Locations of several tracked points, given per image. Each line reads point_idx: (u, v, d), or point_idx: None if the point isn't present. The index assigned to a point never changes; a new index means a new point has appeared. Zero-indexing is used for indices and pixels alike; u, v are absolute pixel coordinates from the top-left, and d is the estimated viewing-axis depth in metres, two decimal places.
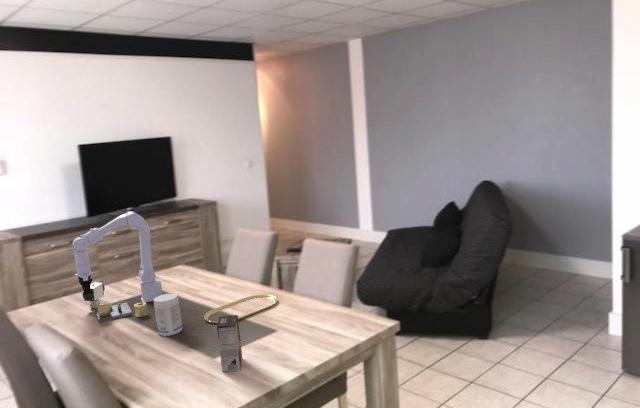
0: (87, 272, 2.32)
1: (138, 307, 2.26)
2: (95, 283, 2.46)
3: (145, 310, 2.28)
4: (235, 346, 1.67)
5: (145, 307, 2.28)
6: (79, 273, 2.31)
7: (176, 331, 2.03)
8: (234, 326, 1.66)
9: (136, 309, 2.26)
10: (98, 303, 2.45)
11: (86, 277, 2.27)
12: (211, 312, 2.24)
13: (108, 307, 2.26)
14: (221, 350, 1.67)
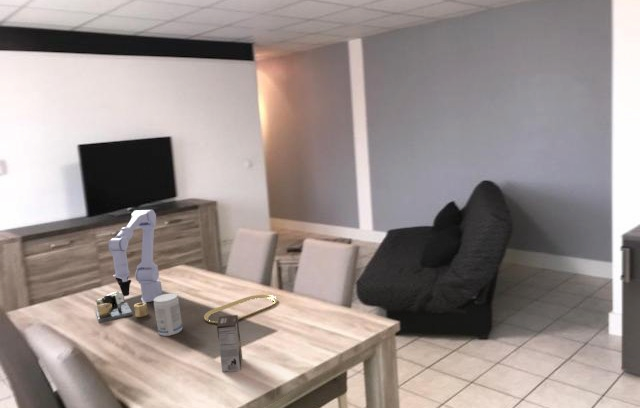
0: (126, 273, 2.26)
1: (138, 307, 2.26)
2: (121, 295, 2.47)
3: (145, 310, 2.28)
4: (235, 346, 1.67)
5: (145, 307, 2.28)
6: (118, 274, 2.25)
7: (176, 331, 2.03)
8: (234, 326, 1.66)
9: (136, 309, 2.26)
10: None
11: (125, 278, 2.22)
12: (211, 312, 2.24)
13: (108, 307, 2.26)
14: (221, 350, 1.67)
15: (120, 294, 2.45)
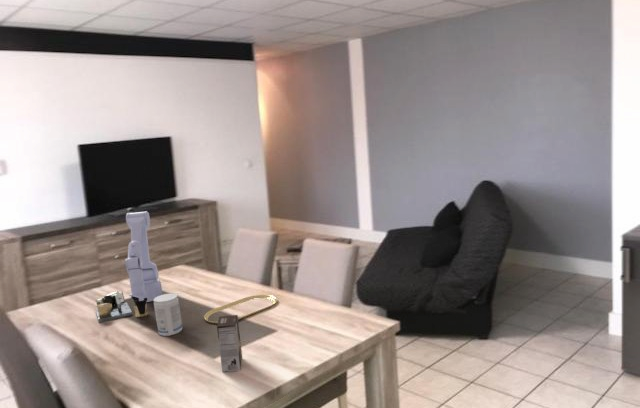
0: (142, 291, 2.26)
1: None
2: (121, 295, 2.47)
3: (145, 310, 2.28)
4: (235, 346, 1.67)
5: (145, 307, 2.28)
6: (134, 293, 2.24)
7: (176, 331, 2.03)
8: (234, 326, 1.66)
9: (136, 309, 2.26)
10: None
11: (142, 297, 2.21)
12: (211, 312, 2.24)
13: (108, 307, 2.26)
14: (221, 350, 1.67)
15: (120, 294, 2.45)
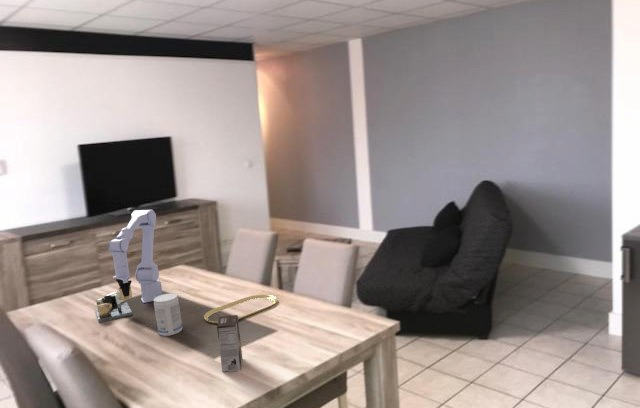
0: (126, 274, 2.26)
1: None
2: None
3: (129, 293, 2.28)
4: (235, 346, 1.67)
5: (130, 290, 2.29)
6: (118, 275, 2.25)
7: (176, 331, 2.03)
8: (234, 326, 1.66)
9: (120, 292, 2.27)
10: None
11: (126, 279, 2.22)
12: (211, 312, 2.24)
13: (108, 307, 2.26)
14: (221, 350, 1.67)
15: None
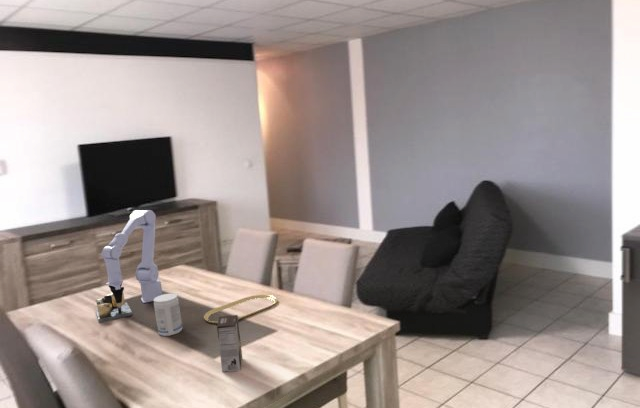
0: (119, 281, 2.28)
1: None
2: None
3: (122, 299, 2.30)
4: (235, 346, 1.67)
5: (122, 297, 2.30)
6: (111, 282, 2.27)
7: (176, 331, 2.03)
8: (234, 326, 1.66)
9: (113, 299, 2.29)
10: None
11: (118, 286, 2.24)
12: (211, 312, 2.24)
13: (108, 307, 2.26)
14: (221, 350, 1.67)
15: None
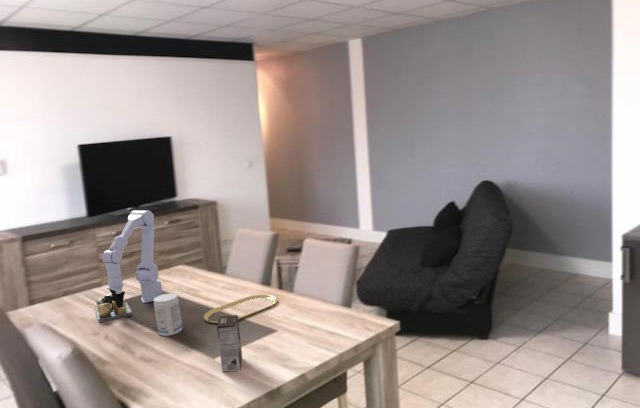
0: (119, 285, 2.28)
1: None
2: None
3: (123, 306, 2.31)
4: (235, 346, 1.67)
5: (123, 303, 2.31)
6: (111, 286, 2.27)
7: (176, 331, 2.03)
8: (234, 326, 1.66)
9: (114, 305, 2.29)
10: None
11: (119, 290, 2.24)
12: (211, 312, 2.24)
13: (108, 307, 2.26)
14: (221, 350, 1.67)
15: None
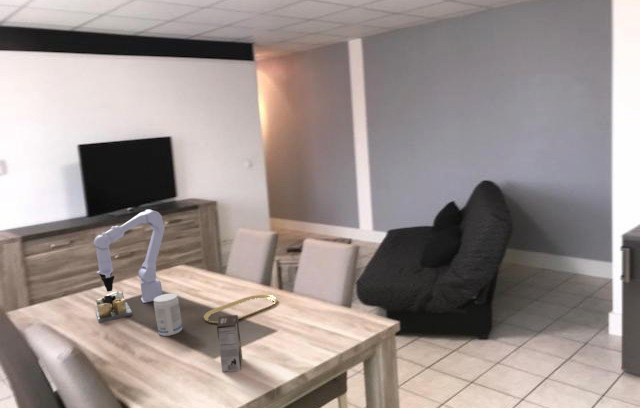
0: (109, 269, 2.35)
1: (116, 303, 2.29)
2: (121, 295, 2.47)
3: (123, 306, 2.31)
4: (235, 346, 1.67)
5: (123, 303, 2.31)
6: (101, 270, 2.34)
7: (176, 331, 2.03)
8: (234, 326, 1.66)
9: (114, 305, 2.29)
10: None
11: (108, 274, 2.31)
12: (211, 312, 2.24)
13: (108, 307, 2.26)
14: (221, 350, 1.67)
15: (120, 294, 2.45)
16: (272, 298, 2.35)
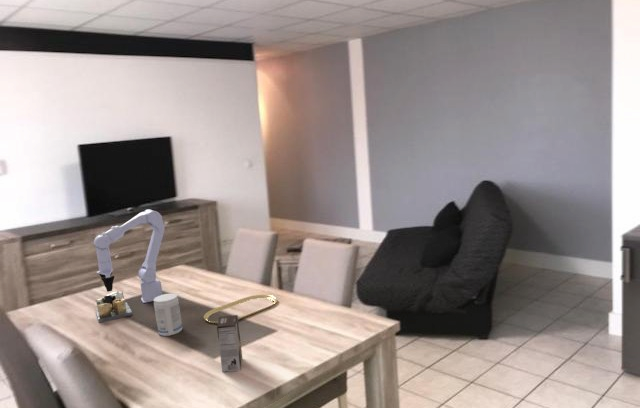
0: (109, 269, 2.35)
1: (116, 303, 2.29)
2: (121, 295, 2.47)
3: (123, 306, 2.31)
4: (235, 346, 1.67)
5: (123, 303, 2.31)
6: (101, 270, 2.34)
7: (176, 331, 2.03)
8: (234, 326, 1.66)
9: (114, 305, 2.29)
10: None
11: (108, 274, 2.31)
12: (211, 312, 2.24)
13: (108, 307, 2.26)
14: (221, 350, 1.67)
15: (120, 294, 2.45)
16: (272, 298, 2.35)
